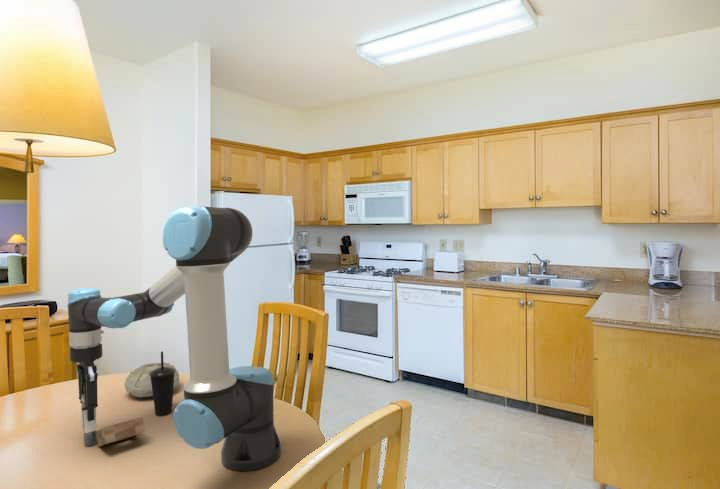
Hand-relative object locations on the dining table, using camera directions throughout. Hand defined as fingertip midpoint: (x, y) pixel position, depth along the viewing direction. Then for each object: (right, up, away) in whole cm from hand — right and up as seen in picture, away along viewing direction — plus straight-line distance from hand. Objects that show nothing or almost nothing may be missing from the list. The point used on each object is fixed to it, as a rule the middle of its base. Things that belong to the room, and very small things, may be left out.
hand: (89, 428), depth 121 cm
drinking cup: (+11, -4, +20) cm, 23 cm away
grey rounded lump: (0, -3, +37) cm, 37 cm away
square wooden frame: (+10, -2, -1) cm, 10 cm away
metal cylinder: (0, -4, 0) cm, 4 cm away
